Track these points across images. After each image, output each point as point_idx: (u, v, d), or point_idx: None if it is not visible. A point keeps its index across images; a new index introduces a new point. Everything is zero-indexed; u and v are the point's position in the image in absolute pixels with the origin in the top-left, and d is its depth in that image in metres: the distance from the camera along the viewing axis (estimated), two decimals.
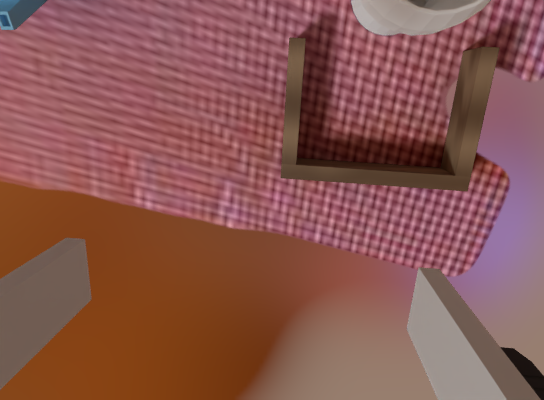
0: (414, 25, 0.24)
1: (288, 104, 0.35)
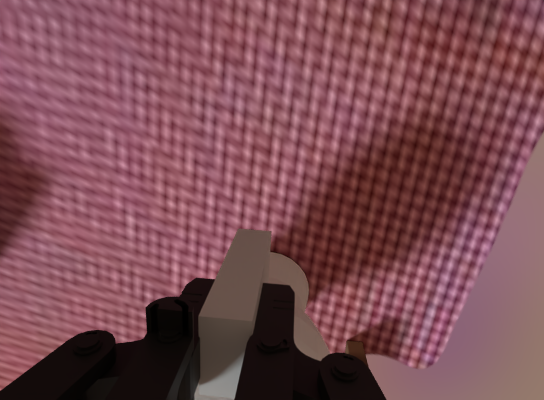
0: None
1: None
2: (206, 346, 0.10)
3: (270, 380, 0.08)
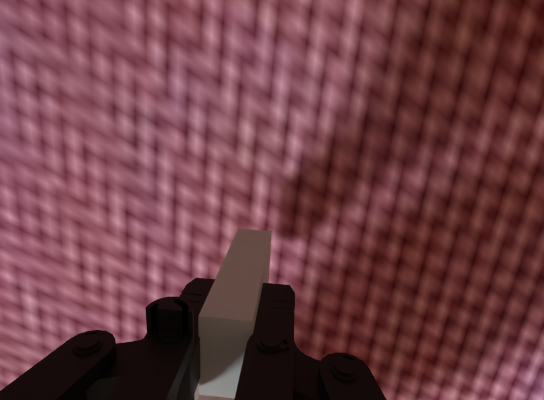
0: None
1: None
2: (206, 346, 0.10)
3: (270, 379, 0.08)
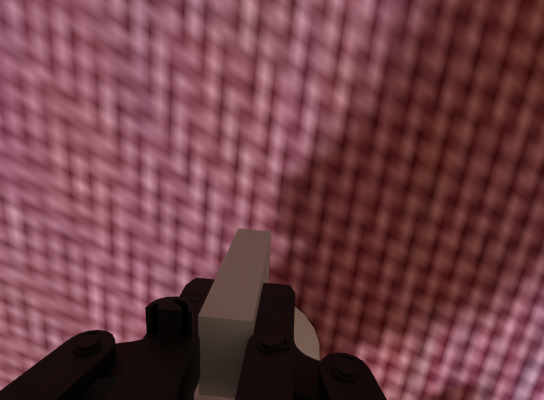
0: None
1: None
2: (206, 346, 0.10)
3: (271, 380, 0.08)
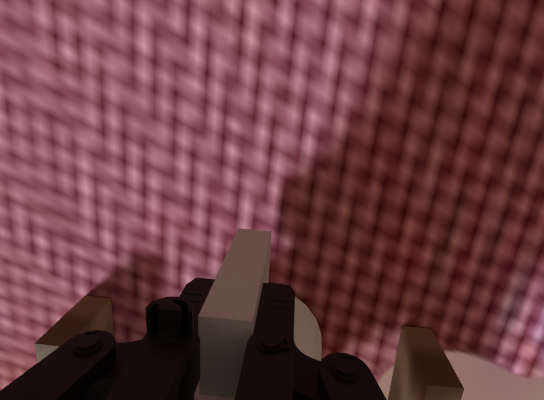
0: None
1: None
2: (206, 346, 0.10)
3: (271, 379, 0.08)
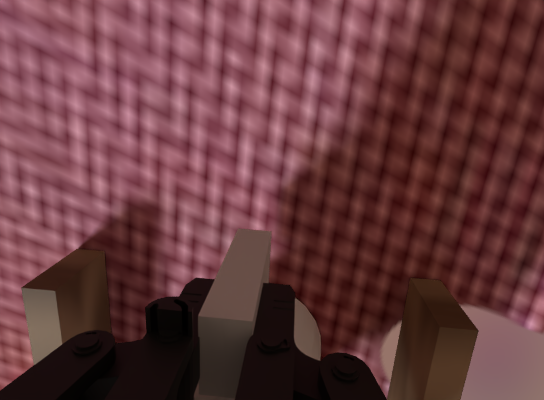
0: None
1: None
2: (206, 346, 0.10)
3: (271, 380, 0.08)
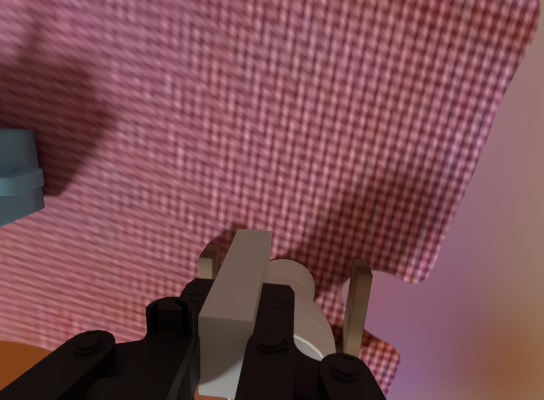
0: None
1: None
2: (206, 346, 0.10)
3: (270, 380, 0.08)
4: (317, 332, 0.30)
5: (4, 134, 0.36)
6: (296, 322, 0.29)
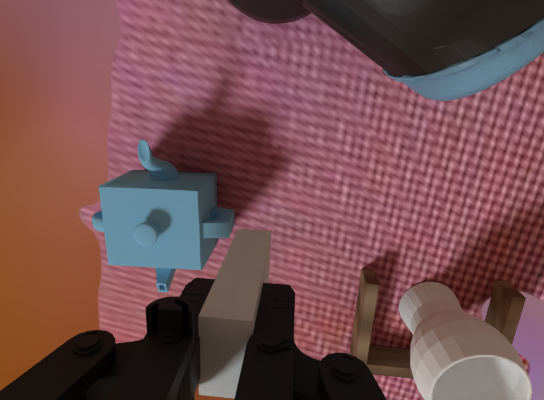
0: None
1: (362, 325, 0.46)
2: (206, 346, 0.10)
3: (270, 379, 0.08)
4: (515, 354, 0.35)
5: (208, 181, 0.41)
6: (499, 346, 0.34)
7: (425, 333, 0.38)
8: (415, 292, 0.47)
